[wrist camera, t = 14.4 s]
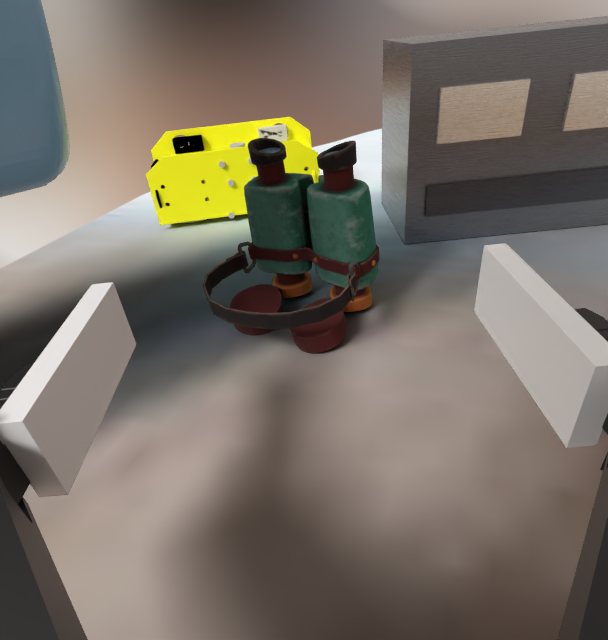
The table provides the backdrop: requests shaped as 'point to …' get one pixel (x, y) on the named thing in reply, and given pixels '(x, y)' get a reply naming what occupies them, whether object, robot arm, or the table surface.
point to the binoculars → (303, 247)
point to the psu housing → (496, 130)
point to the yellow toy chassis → (219, 167)
